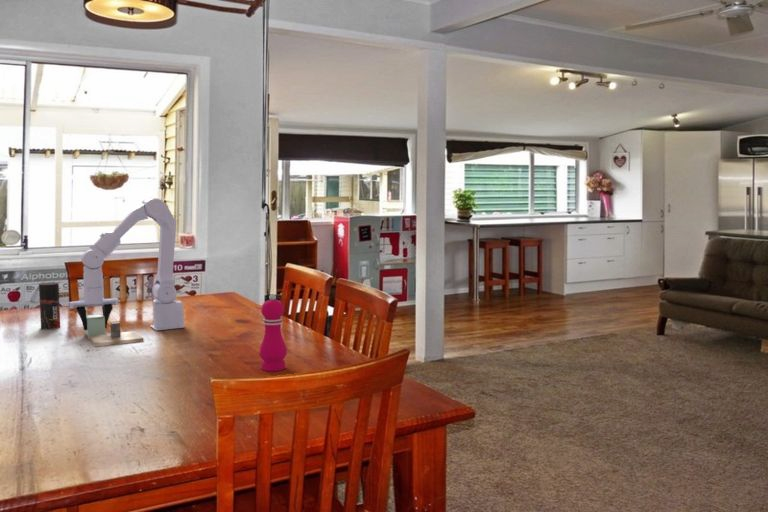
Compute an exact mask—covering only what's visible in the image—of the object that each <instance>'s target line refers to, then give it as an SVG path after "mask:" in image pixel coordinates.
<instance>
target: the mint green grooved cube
mask: <svg viewBox="0 0 768 512" xmlns="http://www.w3.org/2000/svg"><path fill="white" fill-rule="evenodd" d="M86 322H87V330H84V331H85V335H86V336H87V337H88V336H91V335H101V334H106V328H105V316H103V313H99V314H86Z"/></svg>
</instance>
